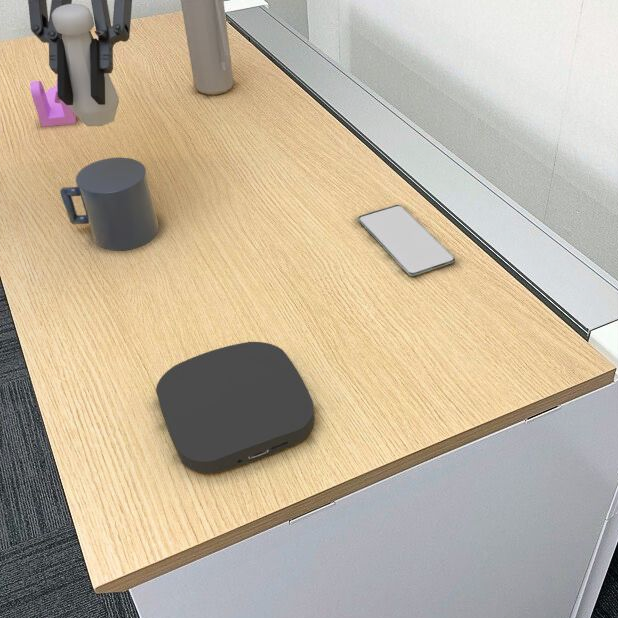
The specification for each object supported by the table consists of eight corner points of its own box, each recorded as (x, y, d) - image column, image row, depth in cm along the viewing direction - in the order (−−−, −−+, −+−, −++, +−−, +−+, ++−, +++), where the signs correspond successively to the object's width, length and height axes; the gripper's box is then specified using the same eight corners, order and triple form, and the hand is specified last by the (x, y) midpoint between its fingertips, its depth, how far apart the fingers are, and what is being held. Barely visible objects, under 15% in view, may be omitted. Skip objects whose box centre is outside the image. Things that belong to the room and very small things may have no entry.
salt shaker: (115, 130, 87) (87, 17, 78) (68, 130, 87) (34, 17, 78) (128, 108, 91) (102, -2, 82) (82, 107, 92) (52, -2, 83)
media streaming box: (152, 388, 81) (146, 369, 79) (276, 348, 85) (273, 329, 83) (189, 487, 71) (183, 468, 69) (326, 436, 76) (325, 417, 74)
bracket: (75, 123, 126) (64, 84, 121) (41, 126, 125) (29, 87, 121) (80, 90, 135) (70, 53, 130) (49, 93, 135) (37, 55, 130)
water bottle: (185, 88, 136) (159, -63, 118) (220, 75, 139) (200, -72, 122) (214, 104, 131) (191, -50, 113) (249, 91, 134) (233, -61, 117)
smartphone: (399, 203, 106) (456, 259, 96) (399, 207, 106) (456, 262, 96) (356, 216, 103) (410, 274, 94) (356, 219, 104) (410, 278, 94)
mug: (162, 212, 106) (150, 155, 100) (154, 249, 100) (140, 191, 93) (80, 215, 106) (62, 159, 99) (67, 253, 99) (47, 195, 93)
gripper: (157, -85, 88) (160, 110, 88) (23, -83, 88) (25, 113, 87) (140, -126, 80) (143, 87, 80) (-8, -124, 80) (-5, 89, 80)
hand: (81, 100), depth 84 cm, fingers closed on salt shaker, 3 cm apart
